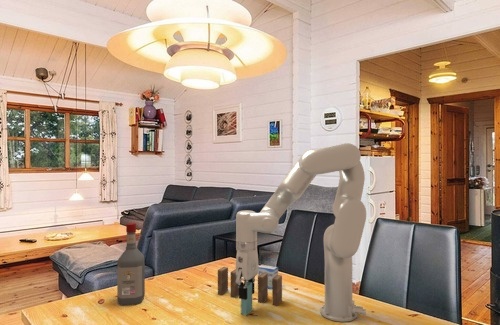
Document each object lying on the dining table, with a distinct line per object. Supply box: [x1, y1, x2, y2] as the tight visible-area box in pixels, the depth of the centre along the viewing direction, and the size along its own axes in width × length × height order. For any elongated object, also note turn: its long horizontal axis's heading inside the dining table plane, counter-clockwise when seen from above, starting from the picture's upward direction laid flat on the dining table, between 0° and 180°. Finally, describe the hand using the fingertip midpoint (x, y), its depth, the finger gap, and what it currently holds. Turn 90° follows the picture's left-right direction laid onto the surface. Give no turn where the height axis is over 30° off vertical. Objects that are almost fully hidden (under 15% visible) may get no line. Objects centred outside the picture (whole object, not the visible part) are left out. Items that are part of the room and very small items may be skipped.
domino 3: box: [240, 281, 253, 316], centre depth 123 cm, size 2×5×10 cm, turn 154°
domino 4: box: [257, 273, 269, 304], centre depth 134 cm, size 2×5×10 cm, turn 154°
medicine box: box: [257, 264, 279, 290], centre depth 148 cm, size 8×4×9 cm, turn 62°
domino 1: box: [217, 266, 229, 296], centre depth 141 cm, size 2×5×10 cm, turn 154°
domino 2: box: [230, 268, 239, 299], centre depth 139 cm, size 2×5×10 cm, turn 154°
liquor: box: [116, 222, 146, 307], centre depth 133 cm, size 9×9×30 cm
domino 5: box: [271, 274, 283, 307], centre depth 131 cm, size 2×5×10 cm, turn 154°
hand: (246, 295), depth 123 cm, fingers closed on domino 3, 4 cm apart
